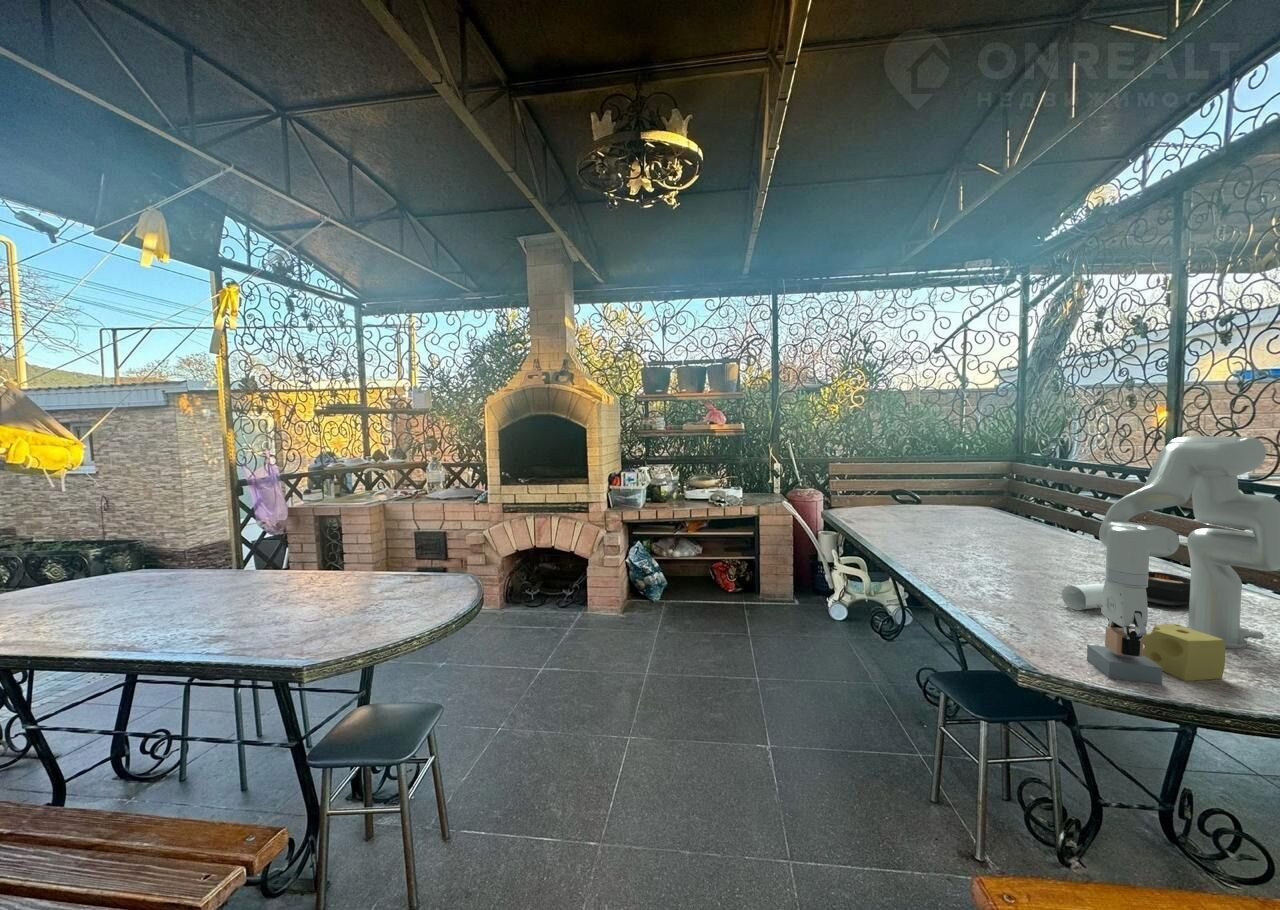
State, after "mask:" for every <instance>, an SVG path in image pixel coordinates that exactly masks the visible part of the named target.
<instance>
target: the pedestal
mask: <svg viewBox="0 0 1280 910" xmlns="http://www.w3.org/2000/svg"><path fill="white" fill-rule="evenodd" d="M1086 646H1087V649H1086V651H1087V652H1086V661H1088V663H1091V665H1092V666H1094V667H1095V668H1096V669H1097V670H1098V671H1100V672H1101V673H1102V674H1103V675H1105V676H1106V677H1107V678H1108V679H1114V680H1115V679H1116V680H1125V681H1130V682H1131V680H1132V682H1138V681H1141V682H1140V683H1146V682H1150V683H1149V684H1155V683H1156V685H1163V671H1162V670H1163V668H1162V667H1161V666H1159V665H1158V664H1156V663H1155V662H1153V661H1152V660H1150V659H1149V658H1147V657H1146V656H1144V655H1143V657H1136V656H1127V655H1118V654H1115V653H1114V652H1113V651H1111V650H1110V649H1109V648H1107V647H1106V646H1105V645H1094V644H1093V645H1092V644H1087V645H1086Z"/></svg>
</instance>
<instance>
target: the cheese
mask: <svg viewBox="0 0 1280 910" xmlns="http://www.w3.org/2000/svg"><path fill="white" fill-rule="evenodd" d="M1187 627H1188V626H1184V625H1181V624H1178V623H1176V624H1175V623H1174V624H1172V623H1170V624H1169V623H1168V624H1165V623H1164V624H1156V625H1153V628H1152V631H1150V632H1149V633H1146V634H1145V635H1143V655H1144V656H1146V657H1147V658H1149V659H1150V660H1152V661H1153V662H1155V663H1156V664H1158V665H1159V666H1161V667H1162V668H1163V670H1162V672H1164V673H1167V674H1168V675H1171V676H1173V677H1175V678H1177V677H1178V678H1177V679H1179V678H1180V680H1181V681H1184V682H1188V681H1189V682H1191V681H1205V680H1219V679H1222V680H1223V676H1224V672H1225V666H1226V665H1225V664H1226V647H1225V644H1224V640H1223V639H1220V638H1217V637H1214V636H1211V635H1208V634H1205V633H1201V632H1198V631H1195V630H1192V629H1189V628H1187Z"/></svg>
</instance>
